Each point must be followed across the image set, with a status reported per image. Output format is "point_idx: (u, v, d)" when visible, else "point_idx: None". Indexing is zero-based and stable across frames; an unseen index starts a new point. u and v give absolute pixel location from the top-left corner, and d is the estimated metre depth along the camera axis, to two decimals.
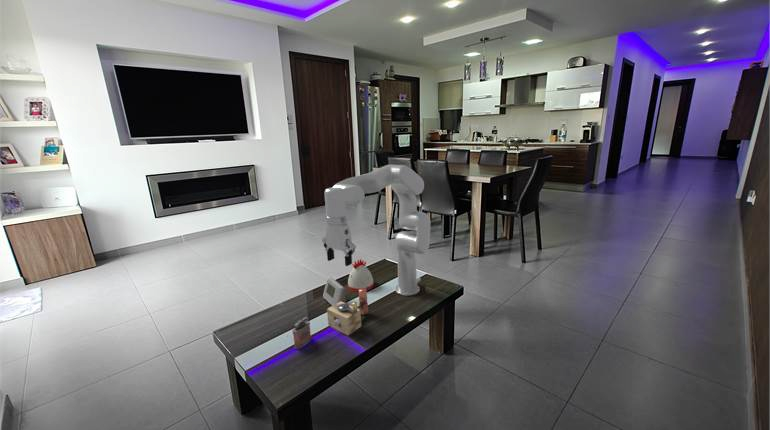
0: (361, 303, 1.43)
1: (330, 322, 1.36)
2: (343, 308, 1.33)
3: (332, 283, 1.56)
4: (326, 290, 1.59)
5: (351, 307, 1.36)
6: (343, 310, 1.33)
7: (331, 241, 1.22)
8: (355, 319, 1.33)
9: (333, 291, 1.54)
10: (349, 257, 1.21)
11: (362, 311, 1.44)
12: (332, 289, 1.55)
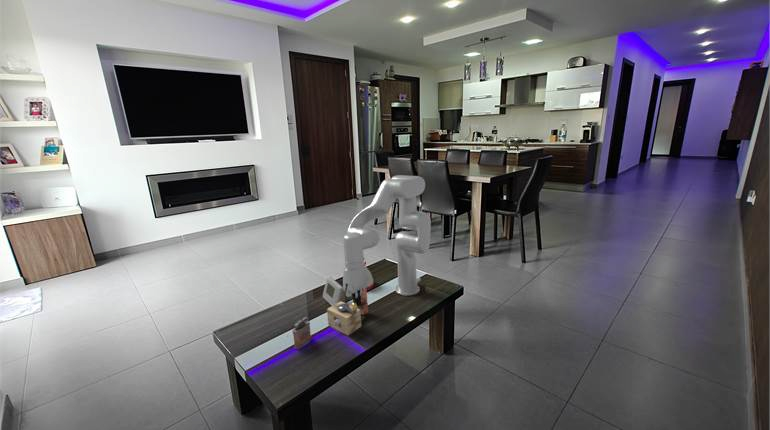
0: (361, 303, 1.43)
1: (330, 322, 1.36)
2: (343, 308, 1.33)
3: (332, 283, 1.56)
4: (326, 290, 1.59)
5: (351, 307, 1.36)
6: (343, 310, 1.33)
7: (357, 284, 1.28)
8: (355, 319, 1.33)
9: (333, 291, 1.54)
10: None
11: (362, 311, 1.44)
12: (331, 289, 1.55)
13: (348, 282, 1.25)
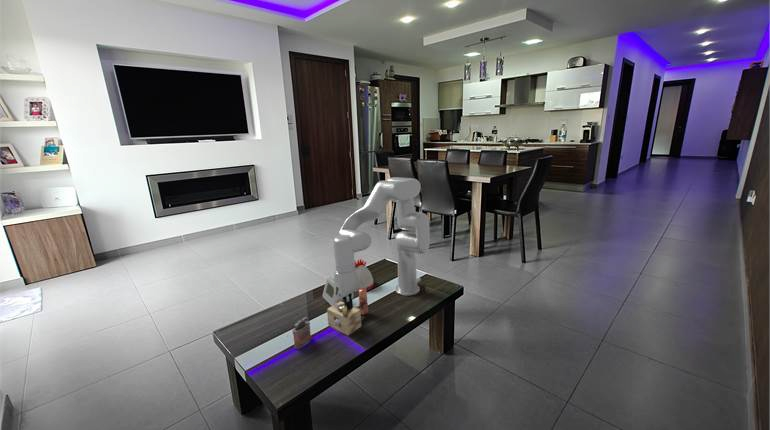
0: (361, 303, 1.43)
1: (330, 322, 1.36)
2: (341, 308, 1.34)
3: (331, 283, 1.56)
4: (326, 290, 1.59)
5: None
6: (339, 310, 1.33)
7: (348, 288, 1.25)
8: (355, 319, 1.33)
9: (332, 291, 1.54)
10: None
11: (362, 311, 1.44)
12: (331, 289, 1.55)
13: (339, 286, 1.23)
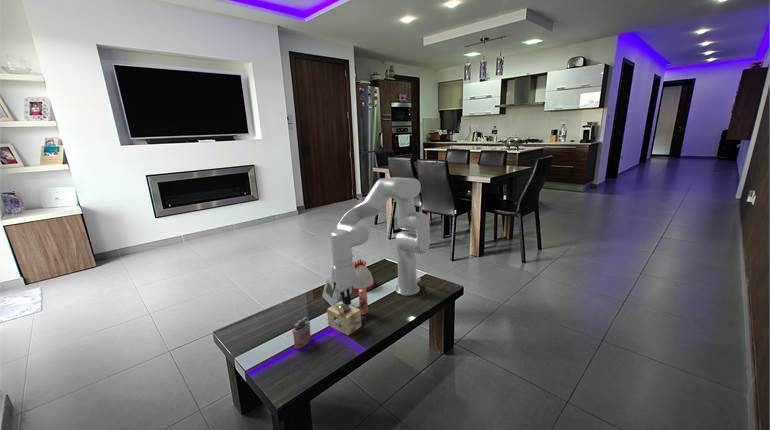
0: (361, 303, 1.43)
1: (330, 322, 1.36)
2: None
3: None
4: (325, 290, 1.59)
5: (351, 307, 1.36)
6: (339, 309, 1.33)
7: (346, 283, 1.24)
8: (355, 319, 1.33)
9: (332, 291, 1.54)
10: None
11: (362, 311, 1.44)
12: (331, 289, 1.55)
13: (336, 281, 1.22)
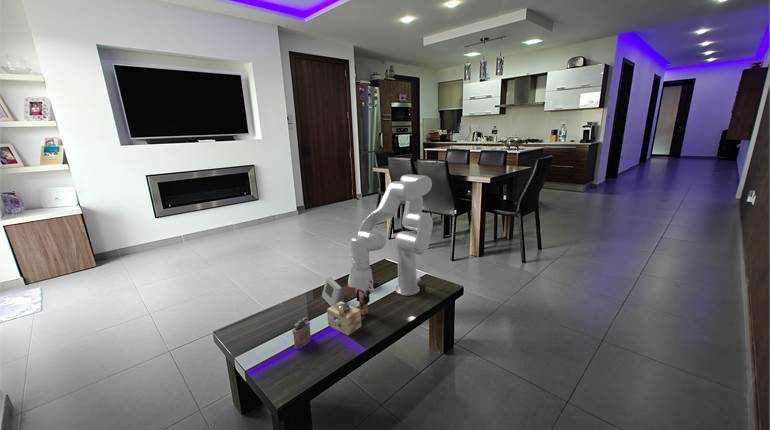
0: (361, 303, 1.43)
1: (330, 322, 1.36)
2: None
3: (331, 283, 1.56)
4: (325, 290, 1.60)
5: (351, 307, 1.36)
6: (339, 309, 1.33)
7: None
8: (355, 319, 1.33)
9: (332, 291, 1.54)
10: None
11: (362, 311, 1.44)
12: (331, 289, 1.55)
13: (371, 278, 1.39)
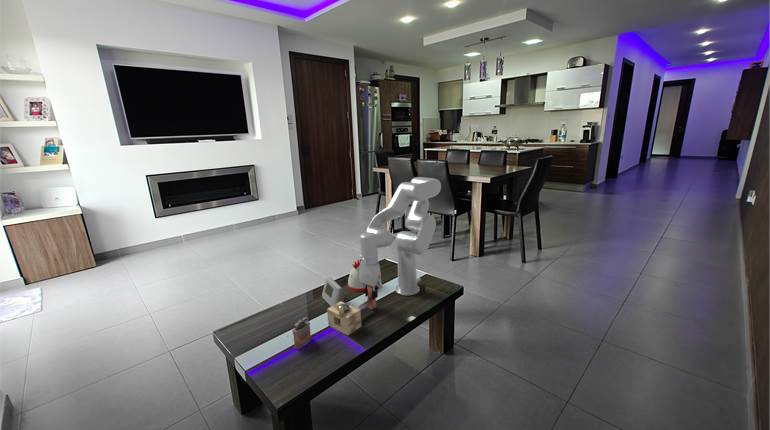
0: (370, 298, 1.47)
1: (330, 322, 1.36)
2: None
3: (330, 283, 1.56)
4: (325, 290, 1.60)
5: (351, 307, 1.36)
6: (339, 309, 1.33)
7: None
8: (355, 319, 1.33)
9: (331, 291, 1.54)
10: None
11: (370, 306, 1.48)
12: (330, 289, 1.55)
13: (379, 274, 1.43)
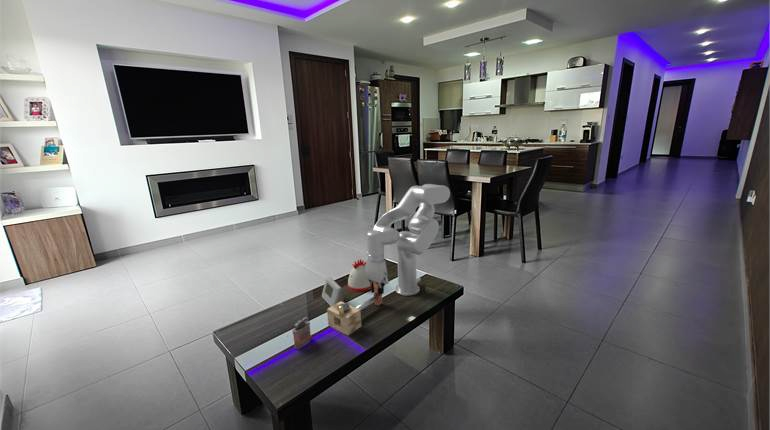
0: (376, 294, 1.50)
1: (330, 322, 1.36)
2: None
3: (330, 283, 1.56)
4: (325, 290, 1.60)
5: (351, 307, 1.36)
6: (339, 309, 1.33)
7: None
8: (355, 319, 1.33)
9: (331, 291, 1.54)
10: None
11: (377, 302, 1.52)
12: (330, 289, 1.55)
13: (385, 270, 1.47)
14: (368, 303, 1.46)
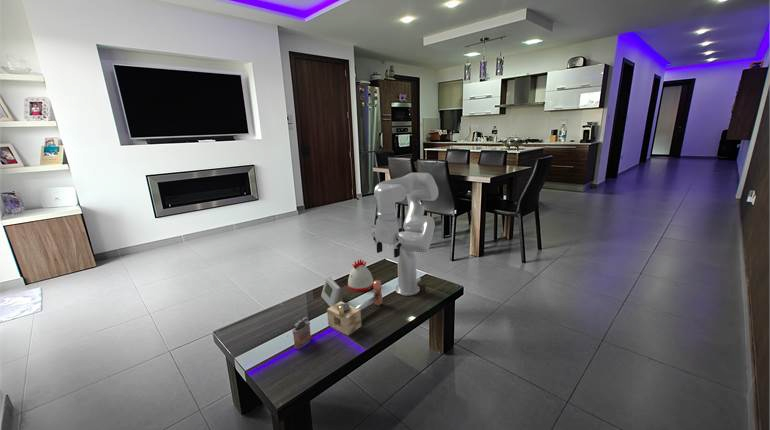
0: (376, 294, 1.50)
1: (330, 322, 1.36)
2: None
3: (330, 283, 1.56)
4: (324, 290, 1.60)
5: (351, 307, 1.36)
6: (339, 309, 1.33)
7: None
8: (355, 319, 1.33)
9: (330, 291, 1.54)
10: None
11: (377, 302, 1.52)
12: (329, 289, 1.55)
13: (397, 231, 1.34)
14: (368, 303, 1.46)
